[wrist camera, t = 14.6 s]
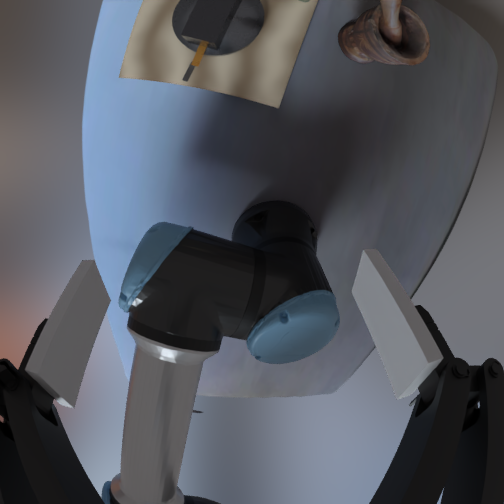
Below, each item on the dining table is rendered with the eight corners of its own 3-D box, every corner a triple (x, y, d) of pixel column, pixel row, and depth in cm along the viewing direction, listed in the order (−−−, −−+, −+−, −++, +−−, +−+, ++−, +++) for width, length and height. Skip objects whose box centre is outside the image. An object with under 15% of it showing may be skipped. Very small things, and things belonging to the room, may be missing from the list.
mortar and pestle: (307, 44, 30) (368, 16, 14) (323, 2, 25) (386, -42, 9) (373, 74, 33) (459, 82, 16) (386, 34, 28) (472, 25, 12)
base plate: (318, -9, 24) (326, -15, 21) (276, 107, 36) (280, 109, 33) (166, -39, 19) (161, -47, 16) (123, 77, 31) (114, 77, 28)
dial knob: (195, -21, 21) (186, -42, 15) (275, 1, 24) (286, -18, 18) (157, 58, 28) (139, 52, 22) (237, 79, 31) (238, 77, 25)
